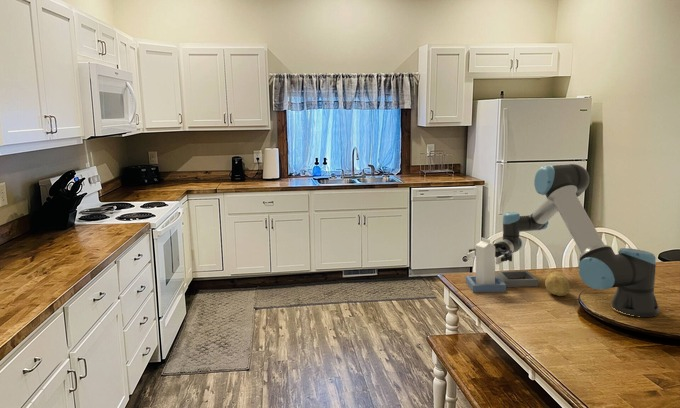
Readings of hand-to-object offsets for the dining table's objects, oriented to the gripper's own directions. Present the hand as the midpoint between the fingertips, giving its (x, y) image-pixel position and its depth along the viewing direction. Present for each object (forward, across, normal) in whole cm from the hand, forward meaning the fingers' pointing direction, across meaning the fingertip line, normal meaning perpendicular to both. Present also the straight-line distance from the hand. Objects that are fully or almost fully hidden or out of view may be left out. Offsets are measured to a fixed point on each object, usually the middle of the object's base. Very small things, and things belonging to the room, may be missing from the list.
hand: (481, 259), depth 208 cm
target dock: (-3, 0, -14) cm, 14 cm away
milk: (-3, 0, -14) cm, 14 cm away
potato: (-12, -28, -14) cm, 34 cm away
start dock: (-18, -8, -14) cm, 24 cm away
